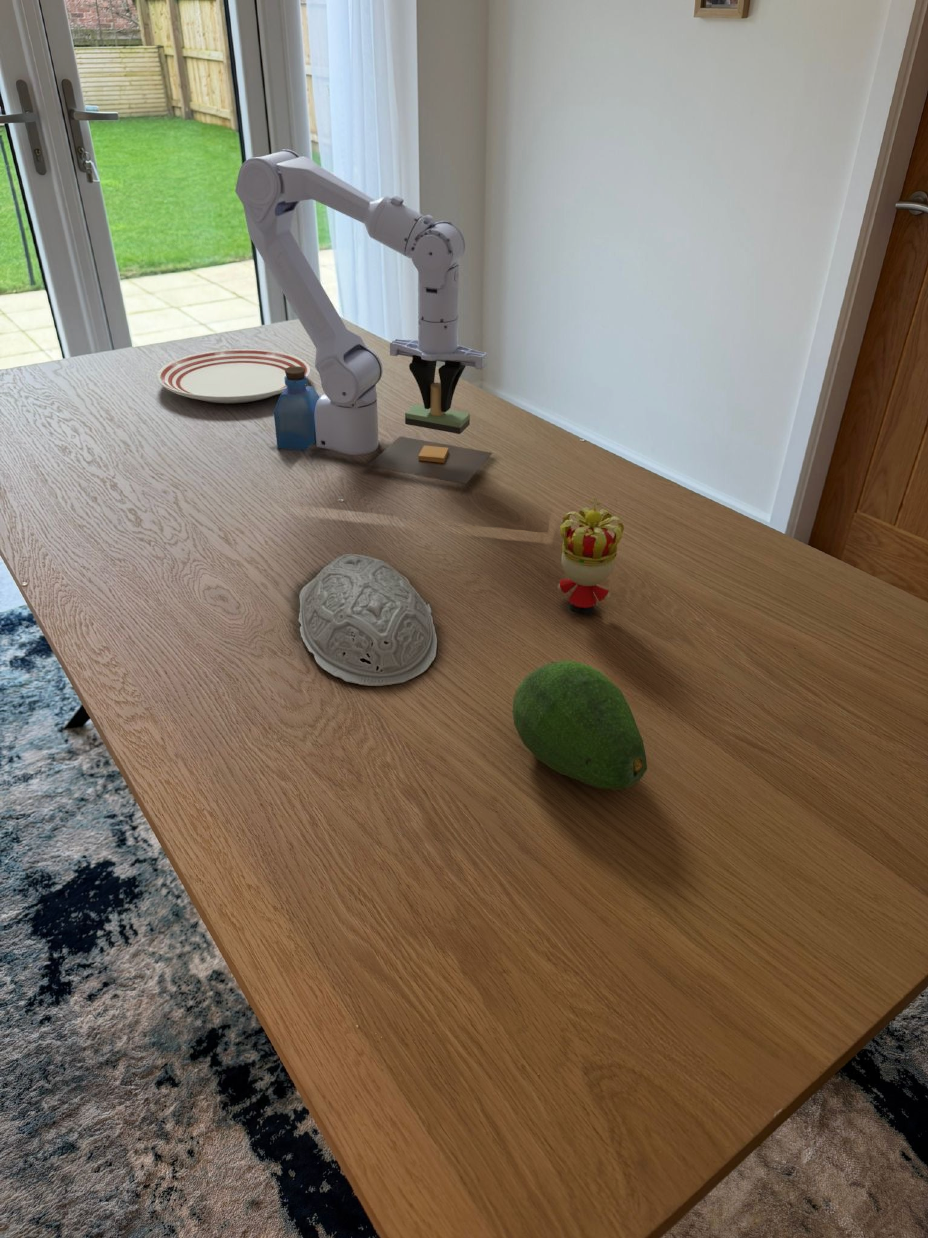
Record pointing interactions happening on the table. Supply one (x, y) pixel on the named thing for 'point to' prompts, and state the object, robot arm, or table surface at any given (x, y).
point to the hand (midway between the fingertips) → (437, 408)
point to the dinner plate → (229, 375)
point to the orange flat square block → (433, 454)
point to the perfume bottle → (296, 412)
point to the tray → (454, 468)
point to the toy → (588, 556)
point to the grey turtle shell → (366, 622)
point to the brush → (437, 415)
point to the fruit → (579, 725)
